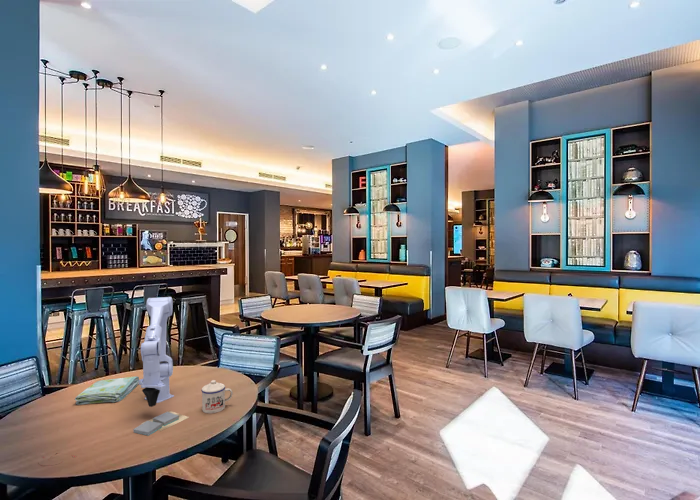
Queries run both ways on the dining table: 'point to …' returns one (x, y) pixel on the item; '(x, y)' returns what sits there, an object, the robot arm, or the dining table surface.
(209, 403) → the teacup with lid
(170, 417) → the tile
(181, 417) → the beige square board
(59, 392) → the dining table surface
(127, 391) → the towel
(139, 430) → the tile
